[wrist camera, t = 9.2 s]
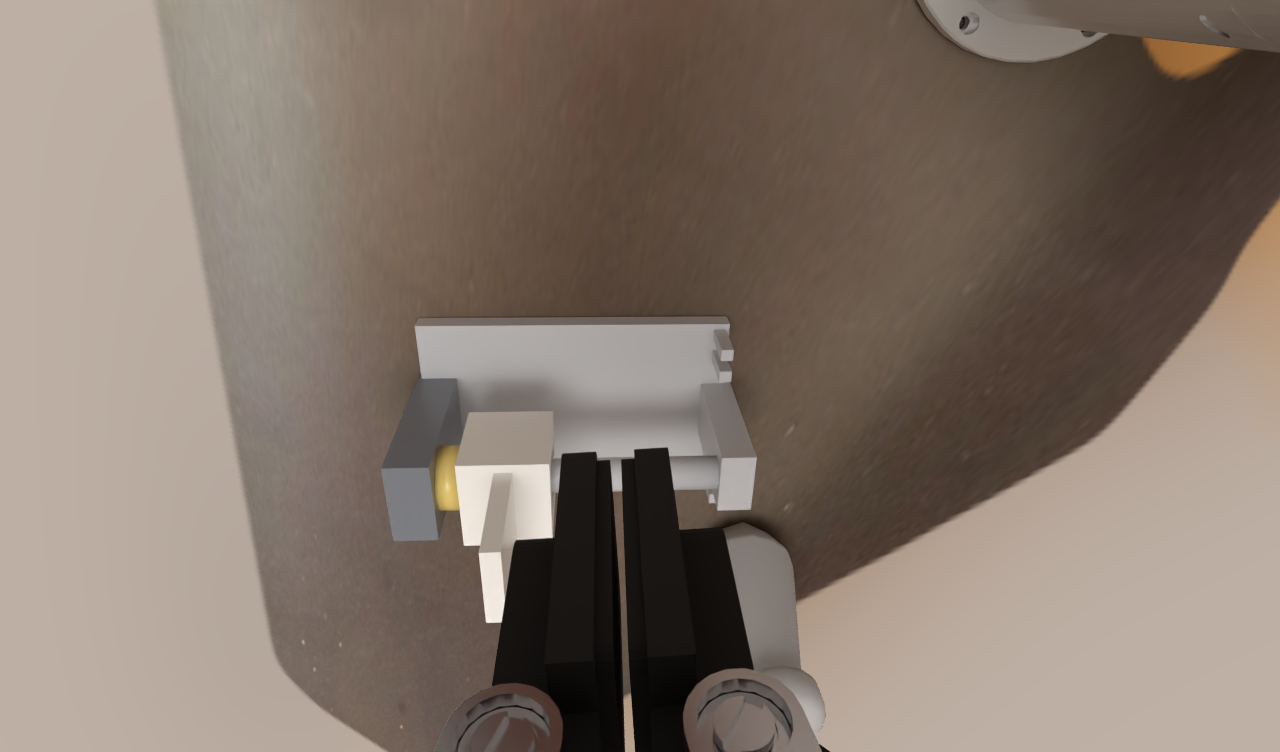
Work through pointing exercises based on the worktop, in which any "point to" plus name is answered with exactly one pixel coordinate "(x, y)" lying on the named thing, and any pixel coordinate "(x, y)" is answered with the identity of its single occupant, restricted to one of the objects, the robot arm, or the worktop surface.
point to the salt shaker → (772, 613)
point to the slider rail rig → (572, 403)
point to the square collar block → (504, 491)
